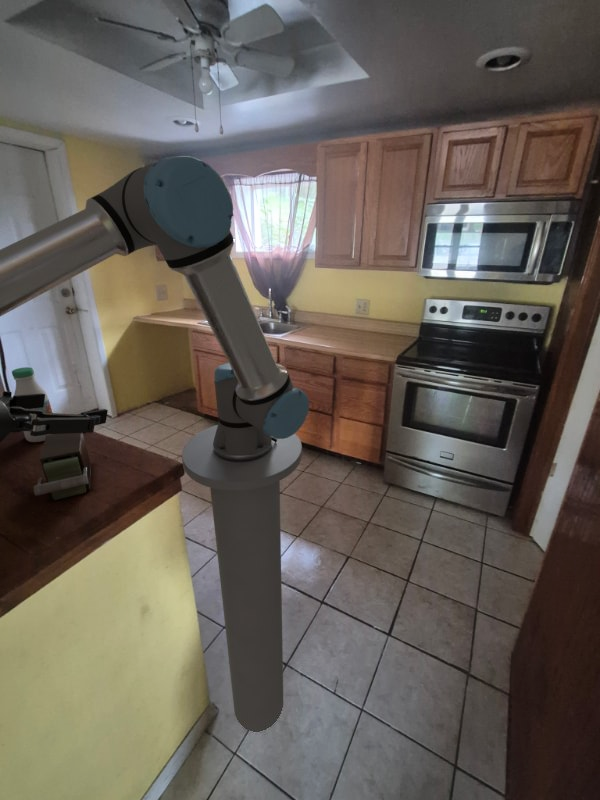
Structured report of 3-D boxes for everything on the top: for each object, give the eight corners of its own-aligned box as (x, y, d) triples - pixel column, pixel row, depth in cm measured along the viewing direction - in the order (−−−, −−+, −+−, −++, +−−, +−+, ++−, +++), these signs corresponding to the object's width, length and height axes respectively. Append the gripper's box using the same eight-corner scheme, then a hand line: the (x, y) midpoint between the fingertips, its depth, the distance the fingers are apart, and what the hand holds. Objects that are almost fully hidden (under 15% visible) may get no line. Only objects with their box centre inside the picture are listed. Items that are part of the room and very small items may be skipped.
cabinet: (90, 490, 83) (79, 451, 78) (52, 499, 80) (39, 459, 76) (91, 465, 92) (81, 428, 88) (57, 472, 89) (46, 435, 85)
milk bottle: (32, 445, 100) (10, 376, 92) (21, 437, 104) (-1, 370, 96) (63, 435, 106) (44, 368, 98) (51, 427, 110) (32, 363, 102)
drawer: (93, 504, 77) (84, 469, 74) (42, 517, 73) (30, 481, 70) (94, 467, 90) (86, 435, 86) (50, 476, 86) (40, 444, 83)
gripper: (-114, 428, 54) (14, 412, 75) (40, 469, 51) (128, 441, 73) (-109, 377, 53) (19, 375, 74) (48, 417, 51) (134, 404, 72)
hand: (73, 408), depth 73 cm, fingers open, 13 cm apart
